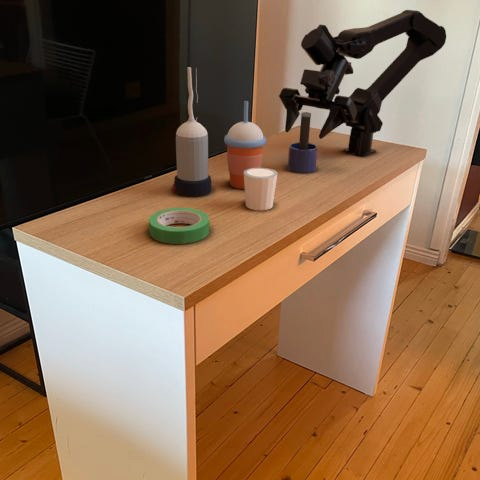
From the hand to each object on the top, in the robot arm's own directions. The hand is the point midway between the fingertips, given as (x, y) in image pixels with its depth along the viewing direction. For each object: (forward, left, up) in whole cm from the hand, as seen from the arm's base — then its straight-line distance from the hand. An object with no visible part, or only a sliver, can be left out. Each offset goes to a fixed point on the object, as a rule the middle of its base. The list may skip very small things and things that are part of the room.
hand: (302, 134), depth 136 cm
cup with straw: (+18, -2, -9) cm, 20 cm away
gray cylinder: (-1, 0, -8) cm, 8 cm away
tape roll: (+46, +8, -9) cm, 48 cm away
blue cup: (-1, 0, -8) cm, 8 cm away
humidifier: (+29, -7, -9) cm, 31 cm away
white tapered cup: (+25, +9, -9) cm, 28 cm away
